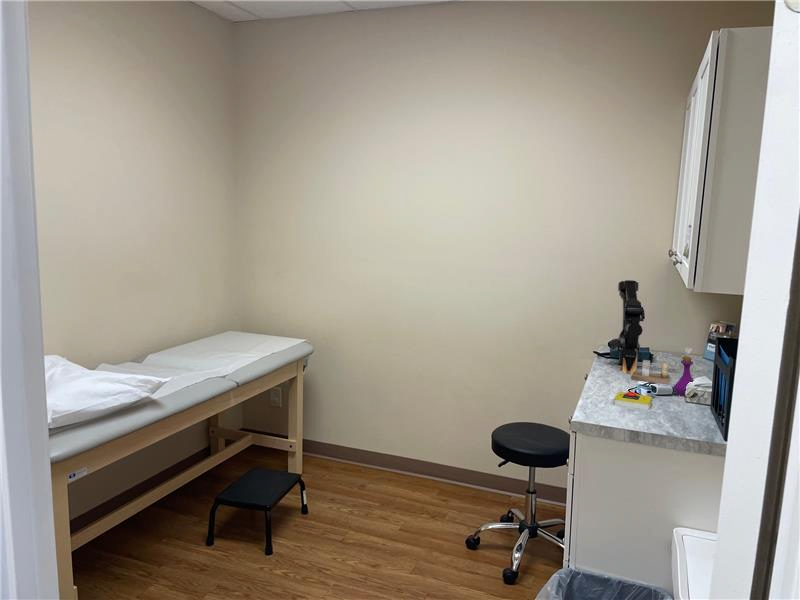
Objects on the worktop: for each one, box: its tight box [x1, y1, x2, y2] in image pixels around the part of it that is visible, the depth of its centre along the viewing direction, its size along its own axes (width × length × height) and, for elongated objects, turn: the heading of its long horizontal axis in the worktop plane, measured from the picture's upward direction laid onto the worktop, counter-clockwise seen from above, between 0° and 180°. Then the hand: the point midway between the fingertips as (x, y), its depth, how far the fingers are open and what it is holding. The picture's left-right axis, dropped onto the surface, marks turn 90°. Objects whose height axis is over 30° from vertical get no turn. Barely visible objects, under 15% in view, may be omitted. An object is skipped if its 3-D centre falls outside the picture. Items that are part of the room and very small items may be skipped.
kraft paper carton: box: [622, 356, 638, 375], centre depth 247 cm, size 5×5×8 cm
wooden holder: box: [630, 359, 671, 385], centre depth 235 cm, size 10×14×8 cm
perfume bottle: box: [672, 347, 695, 397], centre depth 211 cm, size 8×8×18 cm
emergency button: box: [609, 391, 659, 412], centre depth 200 cm, size 9×4×15 cm
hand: (629, 368), depth 248 cm, fingers open, 9 cm apart
